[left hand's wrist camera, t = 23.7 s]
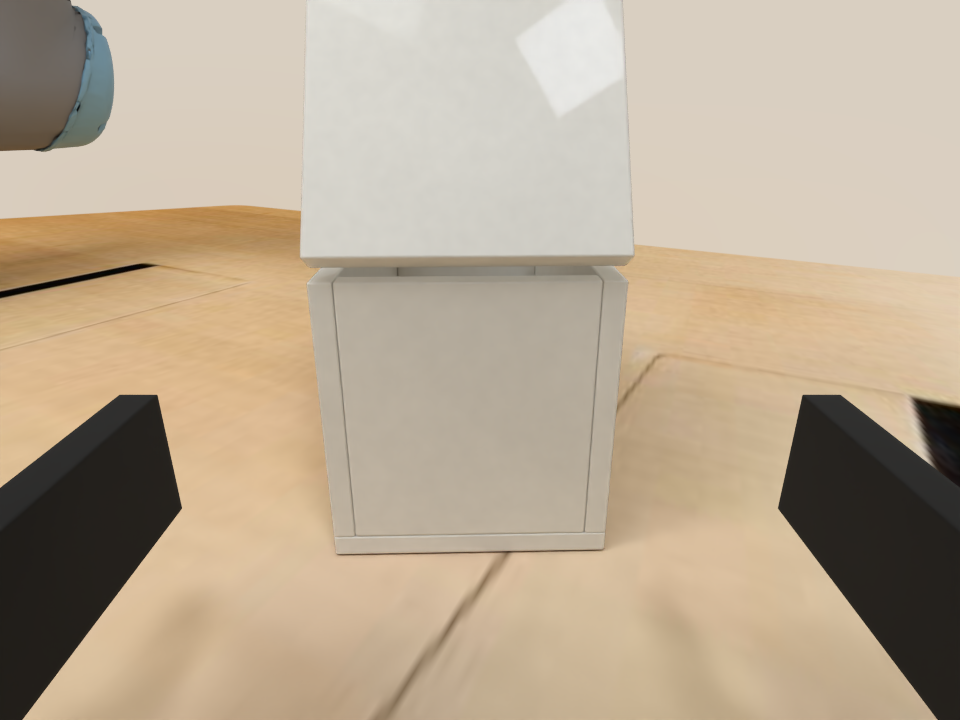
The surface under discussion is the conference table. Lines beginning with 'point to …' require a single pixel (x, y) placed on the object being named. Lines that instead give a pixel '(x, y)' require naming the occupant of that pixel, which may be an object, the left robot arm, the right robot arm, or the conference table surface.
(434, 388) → the chest
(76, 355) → the conference table surface
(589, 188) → the lid
